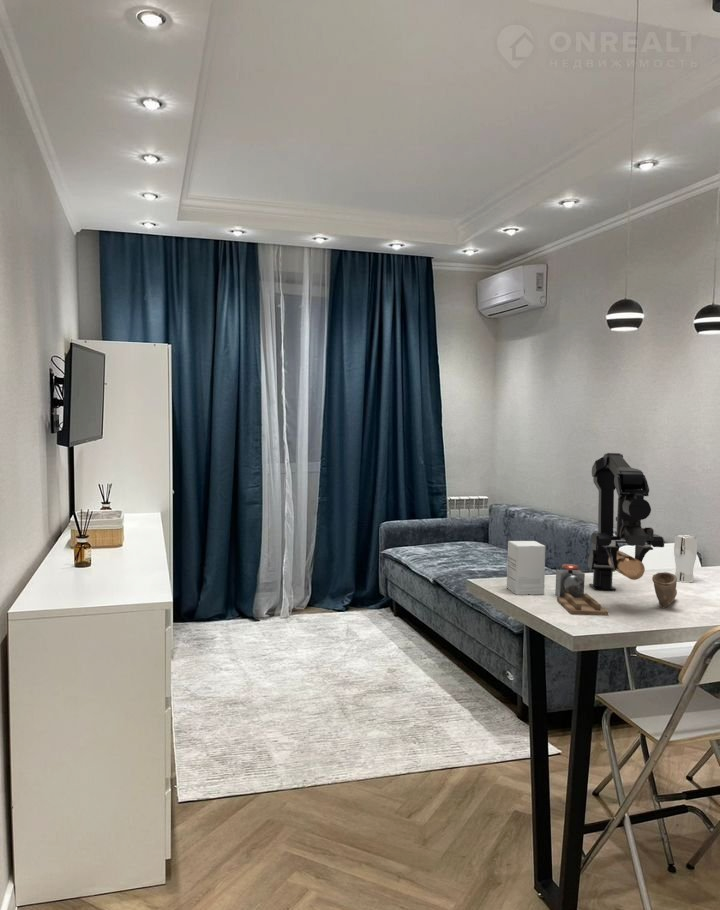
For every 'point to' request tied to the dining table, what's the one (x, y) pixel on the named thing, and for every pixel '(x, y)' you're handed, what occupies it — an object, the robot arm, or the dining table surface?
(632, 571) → the tan rounded oblong piece
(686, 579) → the beer glass
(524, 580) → the supplement box
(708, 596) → the dining table surface
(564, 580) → the valve block
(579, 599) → the pipe cradle
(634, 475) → the robot arm
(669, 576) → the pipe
